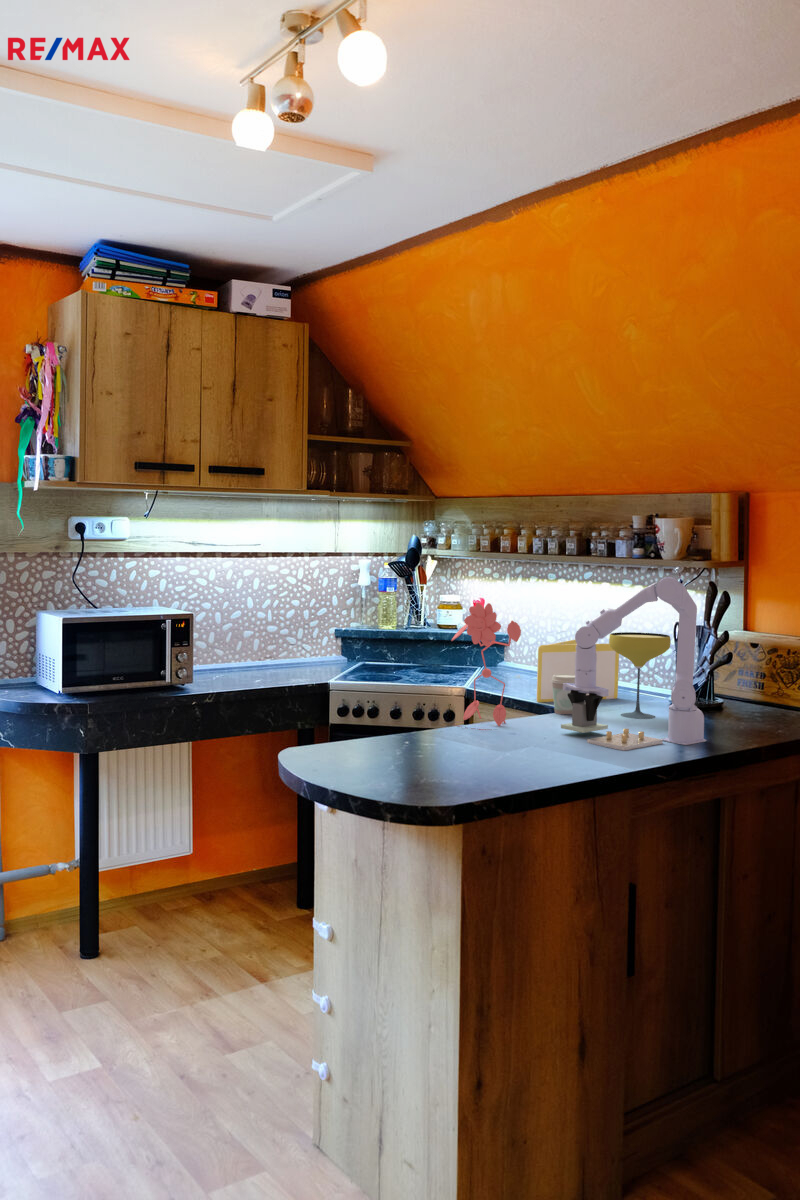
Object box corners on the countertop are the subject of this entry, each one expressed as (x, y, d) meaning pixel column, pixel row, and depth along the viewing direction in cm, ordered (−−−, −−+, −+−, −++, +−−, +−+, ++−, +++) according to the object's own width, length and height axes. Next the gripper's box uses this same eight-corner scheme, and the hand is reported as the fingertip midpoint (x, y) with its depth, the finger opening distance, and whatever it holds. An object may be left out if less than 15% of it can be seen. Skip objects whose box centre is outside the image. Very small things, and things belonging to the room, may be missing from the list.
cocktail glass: (657, 724, 291) (660, 638, 289) (598, 717, 300) (600, 635, 299) (675, 715, 306) (678, 634, 305) (618, 709, 316) (620, 631, 314)
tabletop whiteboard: (568, 691, 355) (569, 636, 354) (627, 697, 344) (629, 640, 343) (528, 704, 325) (529, 644, 324) (592, 710, 314) (593, 649, 313)
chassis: (626, 736, 272) (626, 725, 271) (662, 743, 262) (663, 732, 262) (587, 742, 262) (587, 731, 261) (623, 750, 252) (624, 738, 252)
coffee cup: (549, 716, 302) (550, 676, 301) (551, 711, 310) (552, 673, 309) (577, 717, 300) (578, 678, 299) (579, 713, 308) (580, 674, 307)
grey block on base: (585, 724, 279) (585, 699, 279) (607, 728, 273) (608, 703, 272) (560, 728, 273) (561, 702, 272) (583, 732, 266) (583, 706, 266)
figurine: (461, 716, 299) (463, 599, 297) (530, 728, 281) (533, 604, 279) (426, 722, 288) (428, 601, 286) (495, 735, 270) (498, 606, 268)
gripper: (555, 668, 275) (554, 717, 276) (596, 674, 264) (595, 725, 264) (572, 666, 279) (571, 714, 280) (614, 672, 268) (612, 722, 269)
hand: (584, 719), depth 273 cm, fingers closed on grey block on base, 3 cm apart
